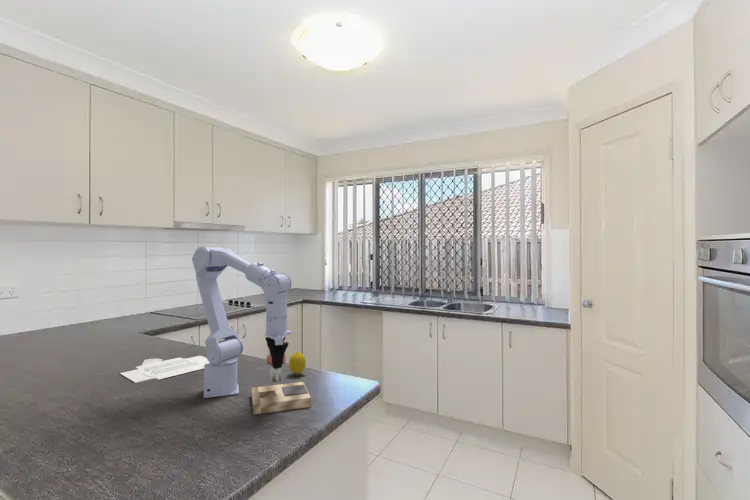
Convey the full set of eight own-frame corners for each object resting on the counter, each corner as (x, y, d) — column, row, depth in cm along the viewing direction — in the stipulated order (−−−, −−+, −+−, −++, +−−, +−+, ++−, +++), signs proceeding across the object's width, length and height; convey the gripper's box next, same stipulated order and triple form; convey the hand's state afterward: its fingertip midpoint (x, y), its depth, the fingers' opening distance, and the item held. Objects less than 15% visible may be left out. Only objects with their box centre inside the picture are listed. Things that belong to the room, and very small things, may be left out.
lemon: (301, 378, 124) (301, 354, 124) (286, 376, 126) (286, 353, 126) (307, 372, 130) (308, 350, 130) (293, 371, 131) (293, 349, 131)
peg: (286, 382, 103) (286, 356, 103) (266, 384, 101) (266, 358, 101) (284, 376, 108) (284, 352, 108) (265, 378, 106) (266, 353, 106)
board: (253, 414, 96) (253, 403, 96) (251, 396, 109) (251, 386, 109) (310, 406, 102) (311, 396, 102) (302, 389, 114) (302, 380, 114)
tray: (222, 366, 138) (222, 356, 138) (139, 391, 116) (138, 379, 116) (195, 356, 151) (195, 347, 151) (115, 377, 129) (115, 366, 129)
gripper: (294, 320, 99) (294, 371, 99) (287, 311, 113) (287, 356, 113) (267, 321, 97) (266, 373, 97) (263, 313, 111) (263, 358, 110)
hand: (276, 364), depth 105 cm, fingers closed on peg, 5 cm apart
